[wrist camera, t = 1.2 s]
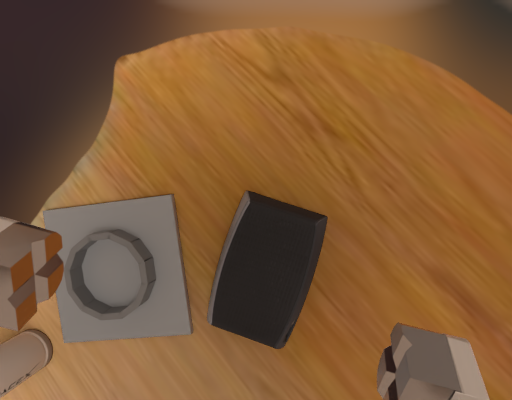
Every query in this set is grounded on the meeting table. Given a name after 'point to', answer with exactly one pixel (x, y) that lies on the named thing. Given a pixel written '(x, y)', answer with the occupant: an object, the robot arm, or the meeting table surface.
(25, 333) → the travel mug
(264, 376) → the meeting table surface
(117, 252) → the mug holder
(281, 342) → the external hard drive
